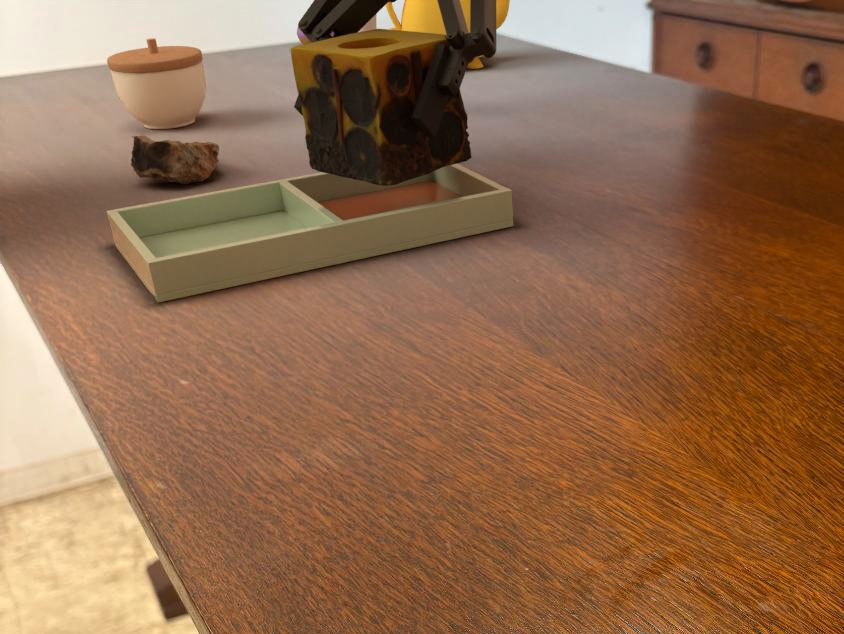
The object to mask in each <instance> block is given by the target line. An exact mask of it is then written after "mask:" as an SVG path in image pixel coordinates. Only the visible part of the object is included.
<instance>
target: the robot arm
mask: <svg viewBox="0 0 844 634" xmlns="http://www.w3.org/2000/svg"><path fill="white" fill-rule="evenodd" d="M397 1H398V0H313V2H312V3H311V4H310V6H309V7H308V8H307V10H306V11H305V13H304V14H303V15H302V17H301V18H300V20H299V21H298V24H297V28H299V29H300V30H301V31H302V33H303V34H304V35H305V36H306V37H307V38H308V39H309V41H310V42H311V43H313V42H317V41H322V40H326V39H330V38H335V37H339V36H343V35H348V34H352V33H358V32H359V31H360V30H361V29H362V28H363V27H364V26H365V25H366V24H367V23H368V22H369V21H370V20H371V19H372V18H373V17H374V16H375V15H376V14H378V13H379V12H380V11H381V10H382V9H383V8H384V7H386V4H387V3H388V2H392V3H396V2H397ZM437 1H438V4H439V8H440V12H441V16H442V19H443V23H444V27H445V31H446V34H447V36H446V35H445V38H446V39H447V41H448V42H449V44H450V48H448V47H447V46H446V44H438V45H437V47H436V50H435V53H434V56H433V59H432V61H431V64H430V67H429V70H428V73H427V75H426V78H425V81H424V84H423V87H422V89H421V92H420V95H419V98H418V101H417V103H416V106H415V109H414V112H413V114H412V117H411V118H412V119H413V120H414V121H415V123H416V124H417V125H418V126H419V127H420V129H421V130H422V131H423V132H424V134H425V135H426V136H427V137H434V138H435V136H436V133H437V130H438V128H439V125H440V122H441V119H442V116H443V113H444V111H445V108H446V105H447V102H448V99H449V96H455V95H456V94H457V93H458V91H459V89H460V90H461V86H462V83H463V80H464V77H465V75H466V72H467V69H468V68H467V66H468V64H469V63H471V62H472V61H473V60H474V58H475V57H478V56H482V55H483V56H482V57H483V58H486V59H491V58H492V57H494V56H495V55H496V53H497V30H496V0H470V33H469V32H468V28H467V25H466V21H465V18H464V14H463V10H462V7H461V3H460V0H437ZM376 16H377V15H376ZM332 32H334V36H333V37H332V36H331V35H330V34H331V33H332ZM478 58H479V57H478ZM293 108H294V109H295V110H296V111H297V112H298V113H299V114H300V115H301V116H302V117H303V113H302V102H301V101H300V99H299V94H297V98H296V99H295V102H294V105H293Z"/></svg>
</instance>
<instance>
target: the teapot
mask: <svg viewBox="0 0 844 634" xmlns="http://www.w3.org/2000/svg"><path fill="white" fill-rule="evenodd" d="M460 3H461V7H462V10H463V14H464V18H465V21H466V25H467V28H468V32H469V33H470V0H460ZM385 8H386V11H387V13H388V16H389V18H390V20H391V23H392V24H393V26H394V27H391V28H389V29H388V30H401V31H412V32H422V33H433V34H444V35H447V34H446V31H445V27H444V23H443V19H442V16H441V12H440V8H439V4H438V1H437V0H404V2H403V6H402V12H401V19H400V20H399V18H398V16H397V14H396V11H395V9H394V6H393V2H388V3H387V4H386V5H385ZM509 10H510V0H496V31H497V30H498V29H499V28H501V27H502V25H504V23H505V21H506V20H507V17H508V15H509ZM481 57H484V56H483V55H482V56H478V57H475V58H474V60H473V61H472V62H471V63H469V64H468V66H467V69H469V70H470V69H473V70H474V69H481V68H484V65H483V63H482V61H481V59H480V58H481Z"/></svg>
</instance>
